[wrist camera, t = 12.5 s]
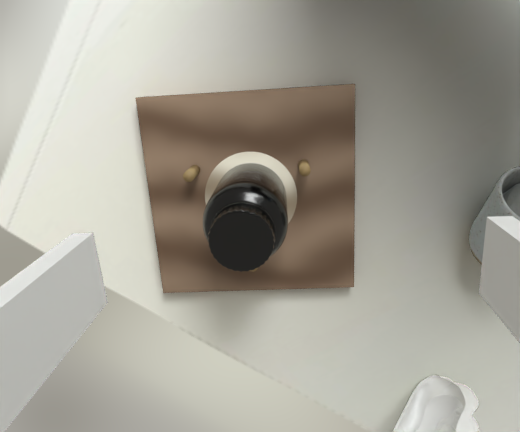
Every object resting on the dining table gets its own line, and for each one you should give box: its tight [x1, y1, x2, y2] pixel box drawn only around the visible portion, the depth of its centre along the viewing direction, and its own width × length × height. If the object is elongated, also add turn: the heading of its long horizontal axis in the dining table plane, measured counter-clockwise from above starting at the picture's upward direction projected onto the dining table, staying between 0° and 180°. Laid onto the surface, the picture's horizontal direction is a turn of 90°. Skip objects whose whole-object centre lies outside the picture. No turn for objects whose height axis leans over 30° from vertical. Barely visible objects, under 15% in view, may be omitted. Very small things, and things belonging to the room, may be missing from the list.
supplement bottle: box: [203, 163, 288, 272], centre depth 36 cm, size 7×7×12 cm
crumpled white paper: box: [393, 375, 479, 432], centre depth 44 cm, size 10×4×10 cm, turn 131°
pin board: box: [136, 84, 355, 293], centre depth 41 cm, size 20×20×4 cm
